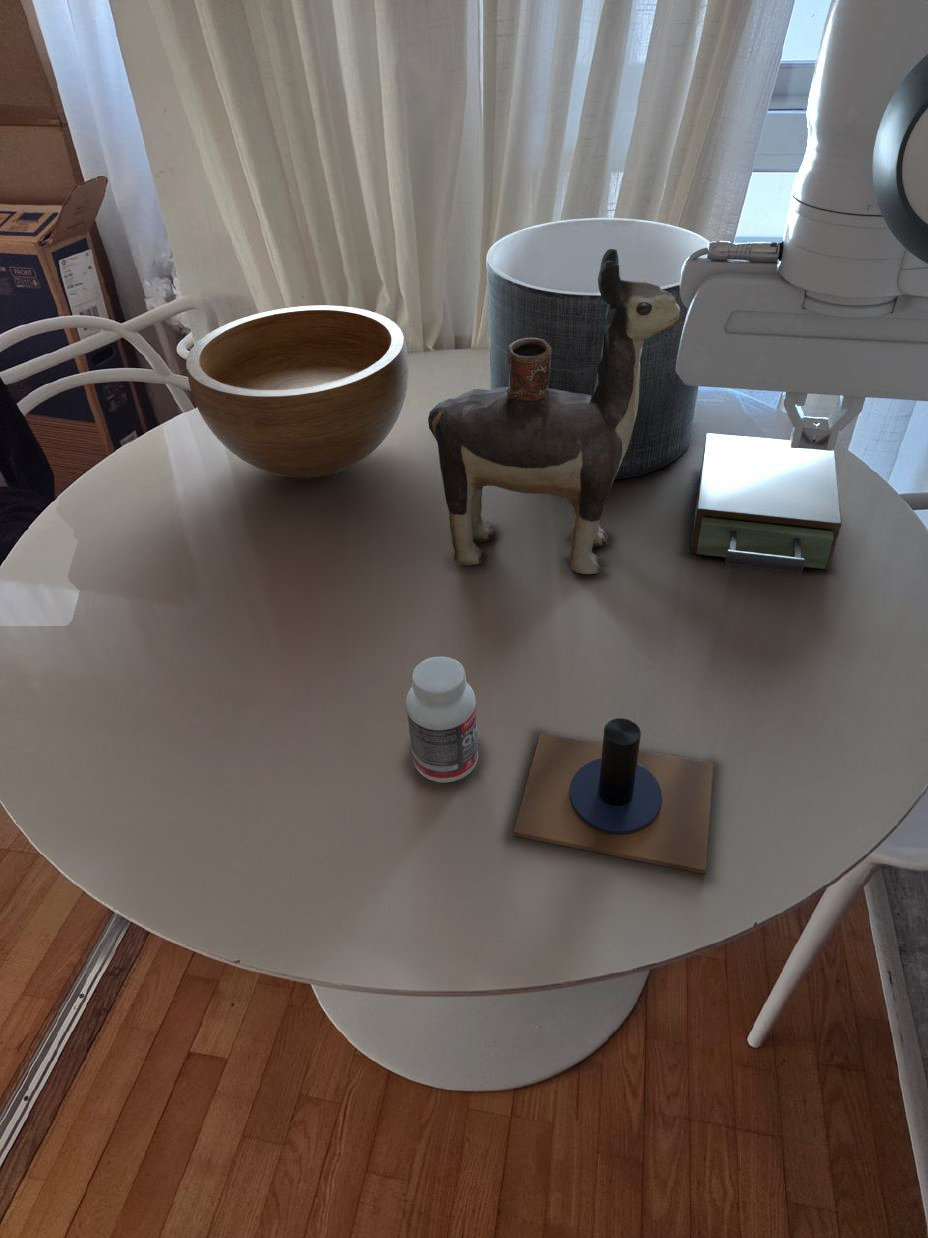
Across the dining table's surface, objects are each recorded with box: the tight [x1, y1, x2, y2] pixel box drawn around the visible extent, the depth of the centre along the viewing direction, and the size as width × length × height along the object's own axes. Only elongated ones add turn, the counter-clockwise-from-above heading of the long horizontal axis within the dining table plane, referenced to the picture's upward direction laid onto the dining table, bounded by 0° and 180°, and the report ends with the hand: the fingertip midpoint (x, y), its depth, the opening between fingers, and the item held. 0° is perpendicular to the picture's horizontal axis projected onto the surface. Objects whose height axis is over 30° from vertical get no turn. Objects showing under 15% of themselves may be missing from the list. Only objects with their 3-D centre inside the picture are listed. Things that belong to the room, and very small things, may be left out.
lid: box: [570, 717, 662, 835], centre depth 63 cm, size 7×7×8 cm
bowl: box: [185, 305, 410, 479], centre depth 102 cm, size 25×25×15 cm
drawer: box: [696, 516, 833, 574], centre depth 89 cm, size 19×12×4 cm, turn 165°
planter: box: [485, 217, 711, 481], centre depth 103 cm, size 25×25×22 cm
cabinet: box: [689, 432, 842, 570], centre depth 92 cm, size 16×14×6 cm
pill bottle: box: [405, 656, 479, 784], centre depth 67 cm, size 5×5×10 cm
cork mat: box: [513, 733, 715, 875], centre depth 66 cm, size 14×10×1 cm
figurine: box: [427, 249, 680, 575], centre depth 82 cm, size 10×23×30 cm, turn 82°
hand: (811, 445), depth 62 cm, fingers closed
